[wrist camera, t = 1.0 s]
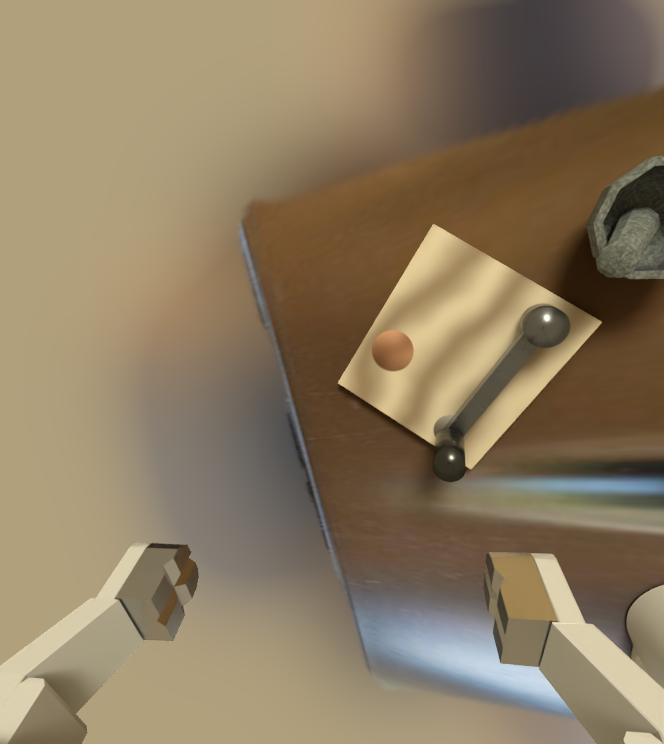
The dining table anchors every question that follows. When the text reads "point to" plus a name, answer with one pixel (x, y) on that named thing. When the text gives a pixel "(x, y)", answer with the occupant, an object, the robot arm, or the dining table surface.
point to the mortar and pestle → (631, 224)
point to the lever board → (456, 342)
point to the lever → (497, 385)
